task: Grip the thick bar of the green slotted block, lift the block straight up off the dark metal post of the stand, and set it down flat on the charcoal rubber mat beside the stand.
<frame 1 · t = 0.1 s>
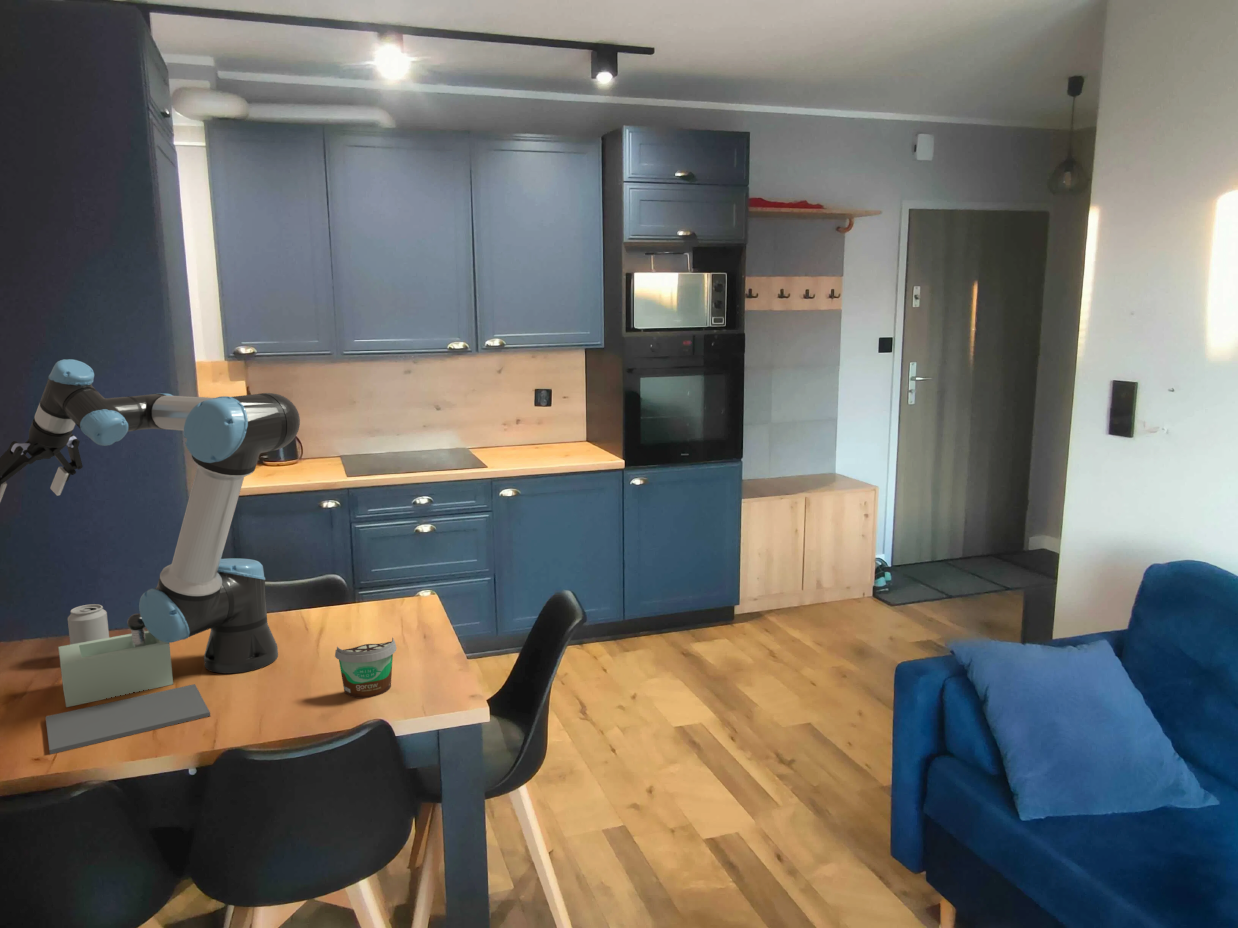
hand: (25, 497, 196), 36 cm above the table, tool tilted 35°, fingers open, 13 cm apart
rubber mat: (128, 718, 167), on the table
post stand: (142, 680, 184), on the table
green slotted block: (118, 686, 182), on the table
food container: (370, 693, 178), on the table
can: (91, 659, 196), on the table
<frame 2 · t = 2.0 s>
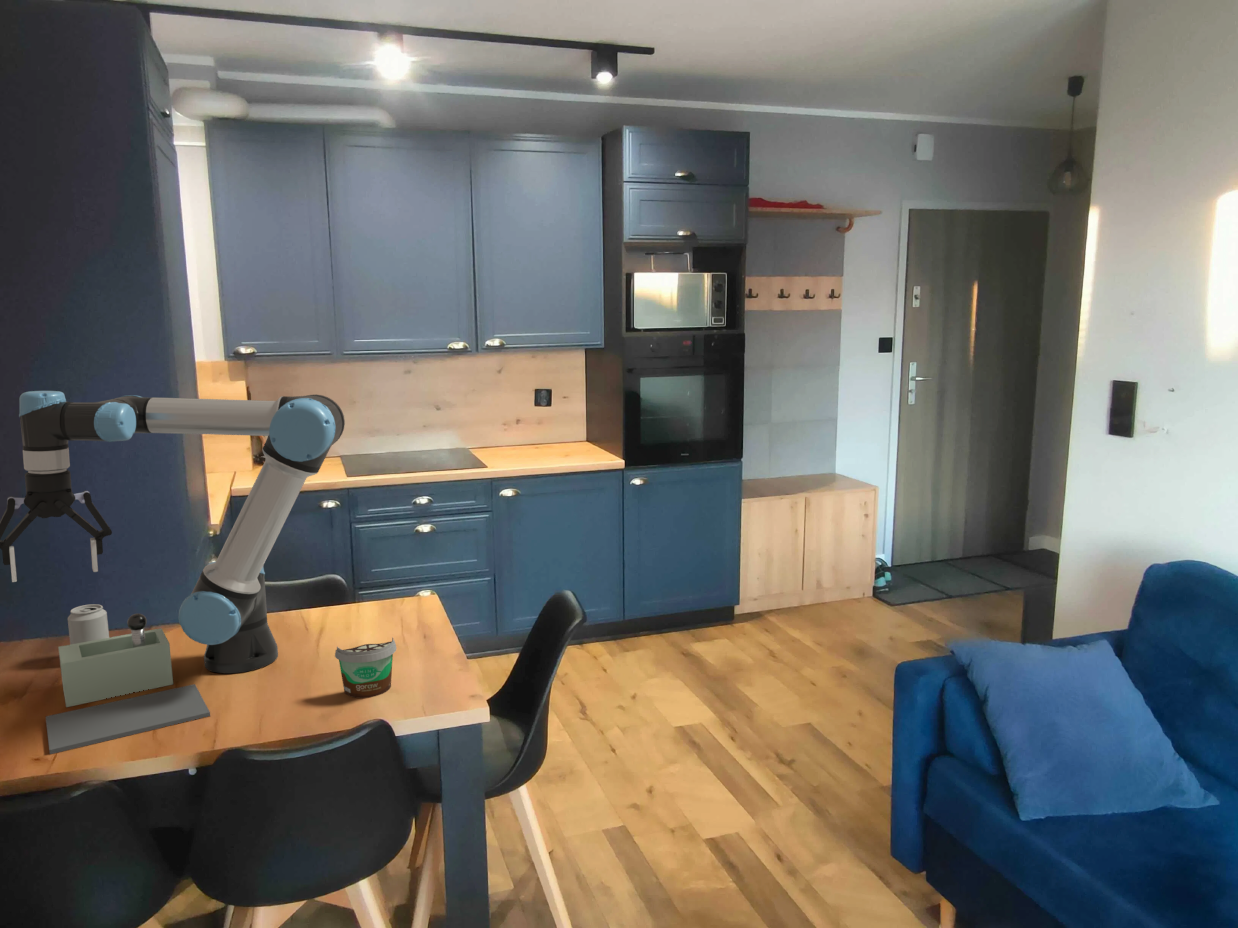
hand: (55, 575, 174), 25 cm above the table, tool pointing down, fingers open, 13 cm apart
nothing on the table moved.
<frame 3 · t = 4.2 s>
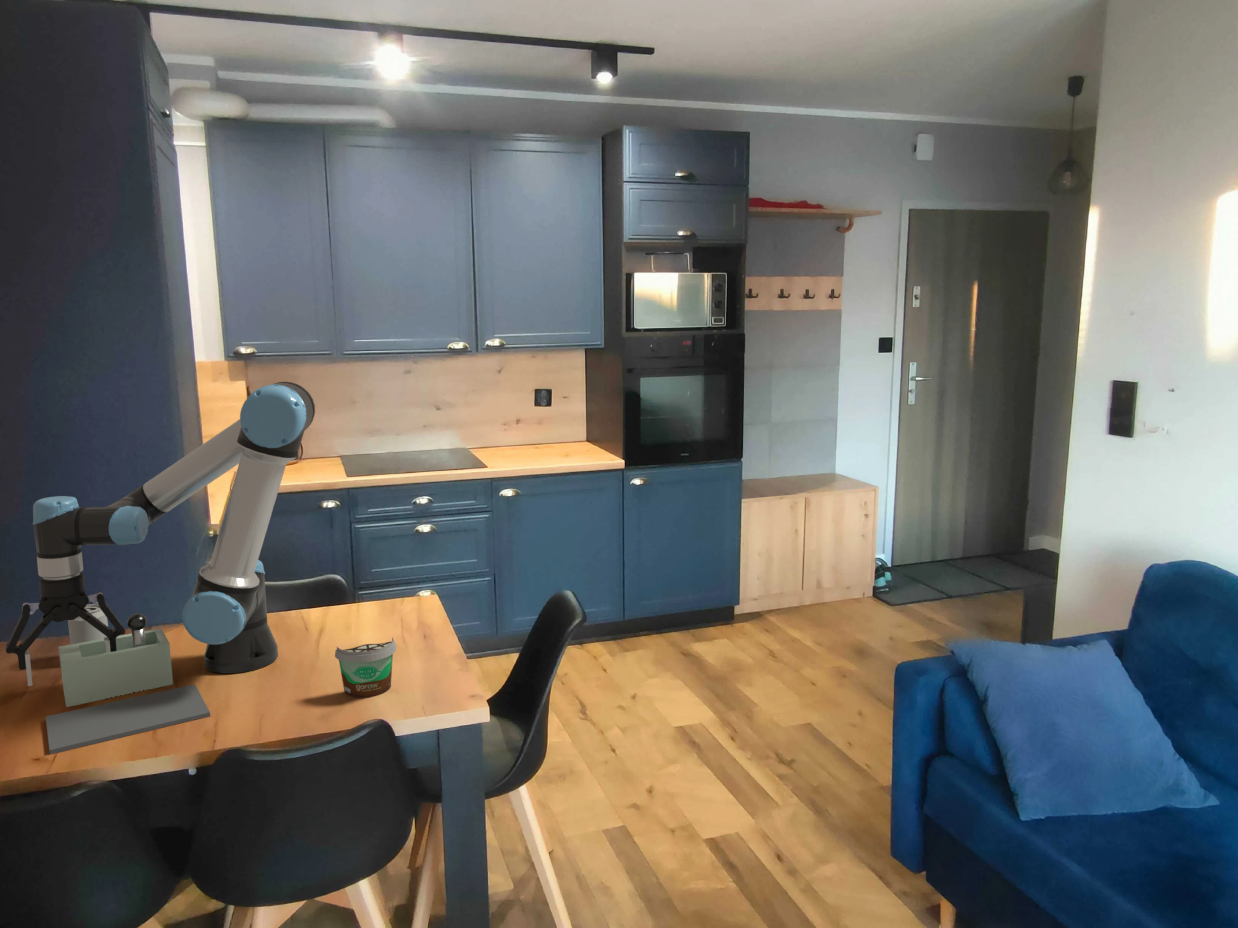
hand: (70, 676, 177), 4 cm above the table, tool pointing down, fingers open, 13 cm apart
nothing on the table moved.
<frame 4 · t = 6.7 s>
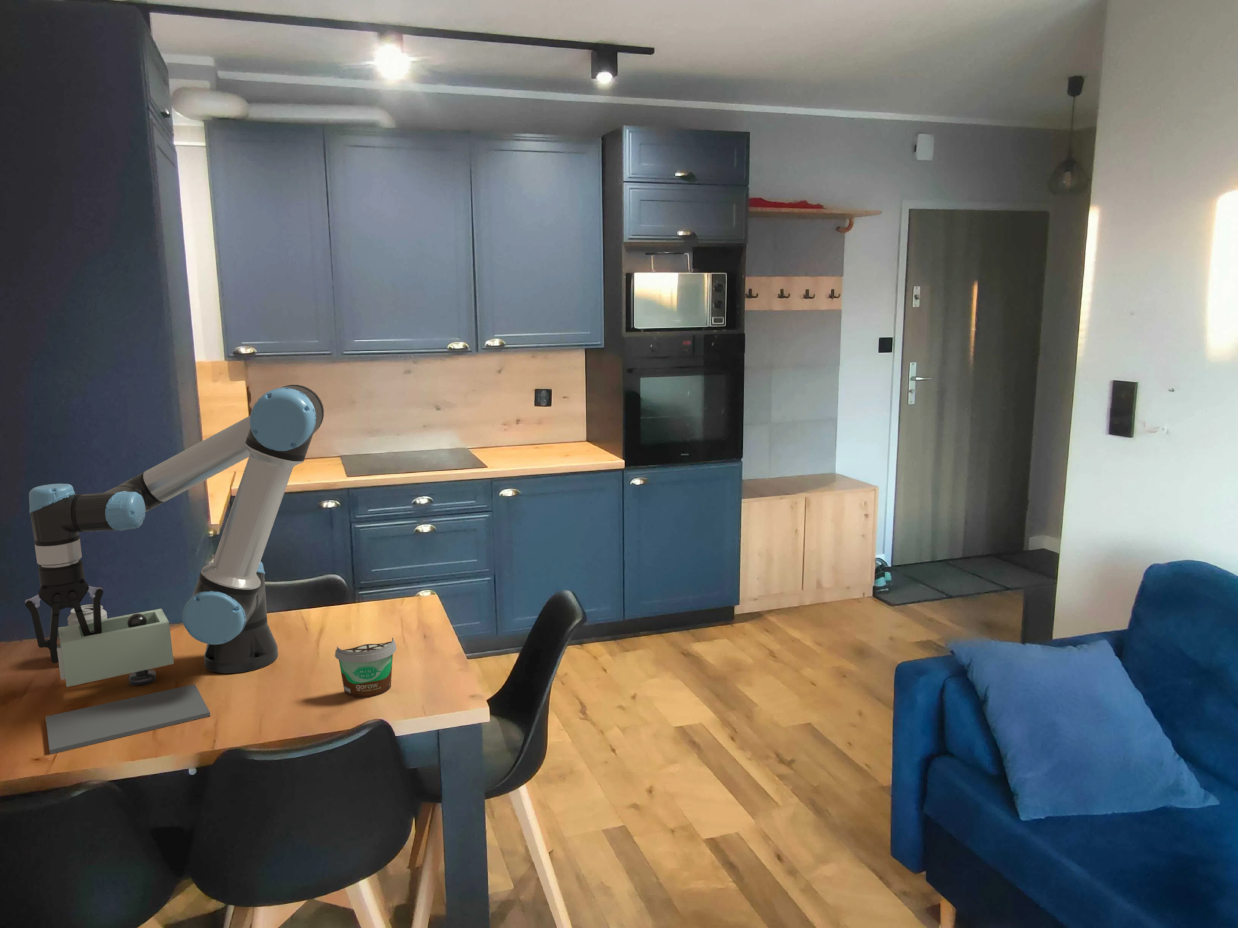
hand: (75, 673, 177), 5 cm above the table, tool pointing down, fingers closed on green slotted block, 3 cm apart
green slotted block: (118, 666, 181), point 4 cm above the table, touching gripper
everything else where it was.
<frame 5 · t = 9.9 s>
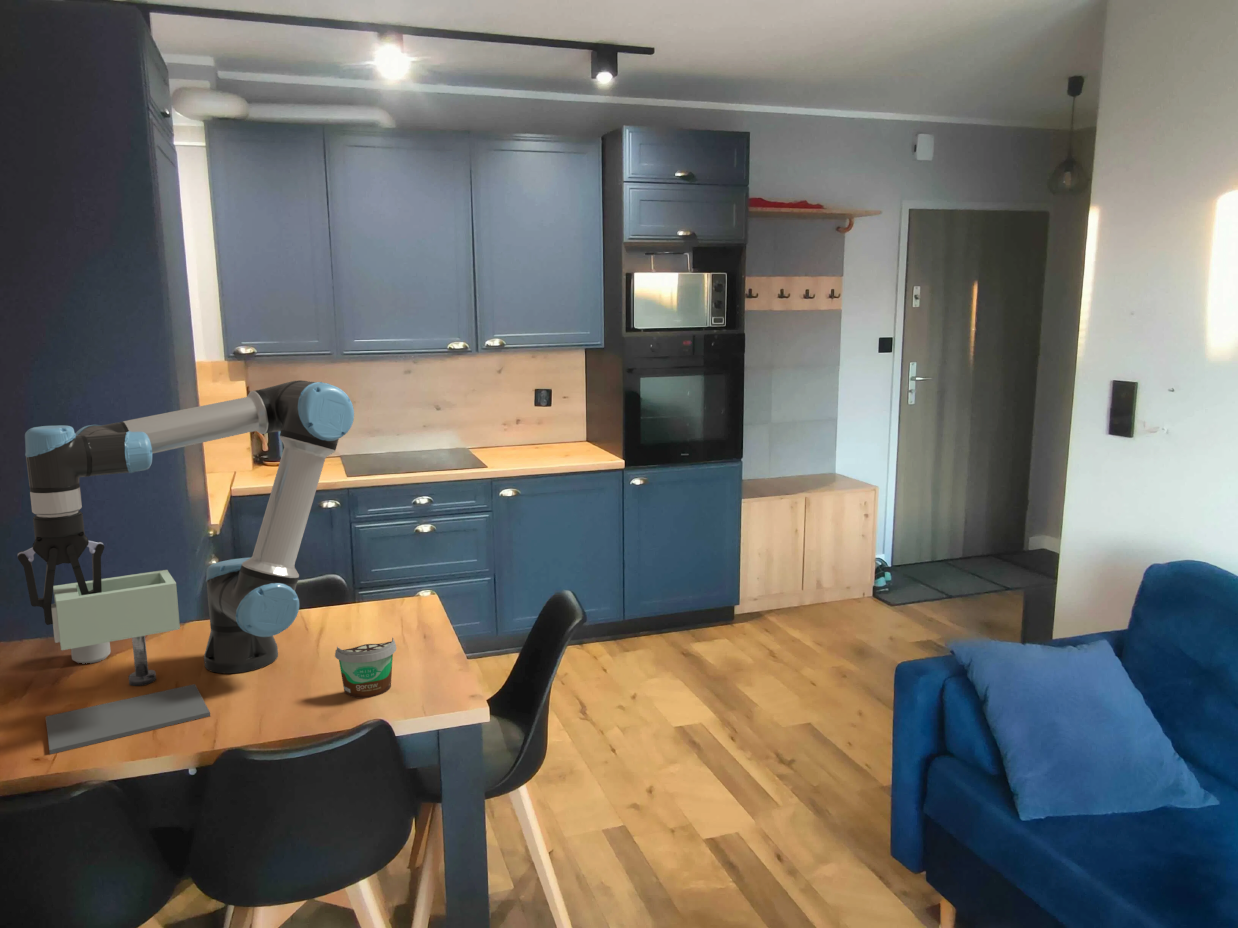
hand: (70, 637, 160), 18 cm above the table, tool pointing down, fingers closed on green slotted block, 3 cm apart
green slotted block: (119, 630, 164), point 18 cm above the table, touching gripper
everything else where it was.
when the fingers open (2 cm above the table, at t = 13.2 s): green slotted block stays where it is, resting on rubber mat.
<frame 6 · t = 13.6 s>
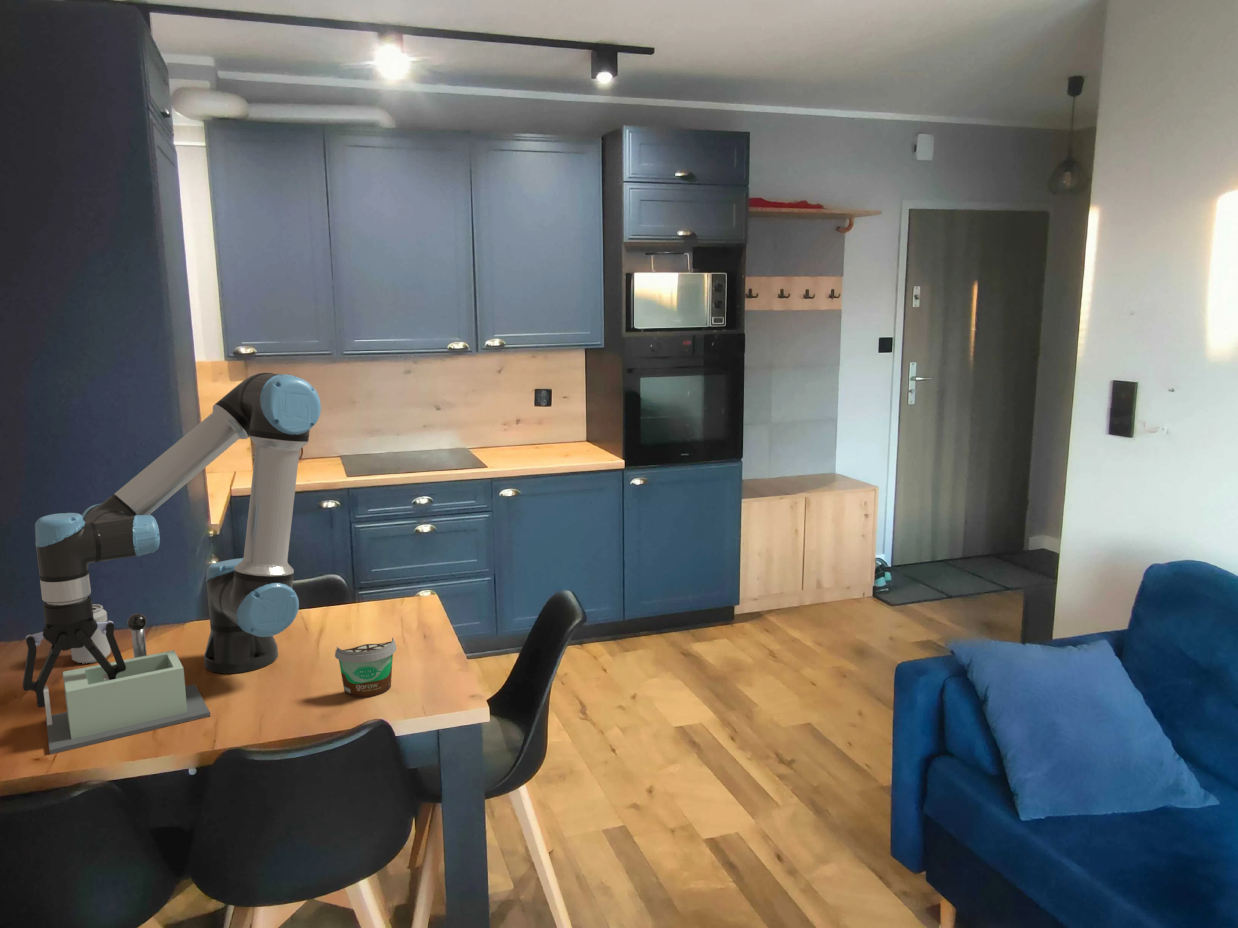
hand: (79, 715, 162), 3 cm above the table, tool pointing down, fingers open, 9 cm apart
green slotted block: (127, 714, 167), point 1 cm above the table, touching rubber mat
everything else where it was.
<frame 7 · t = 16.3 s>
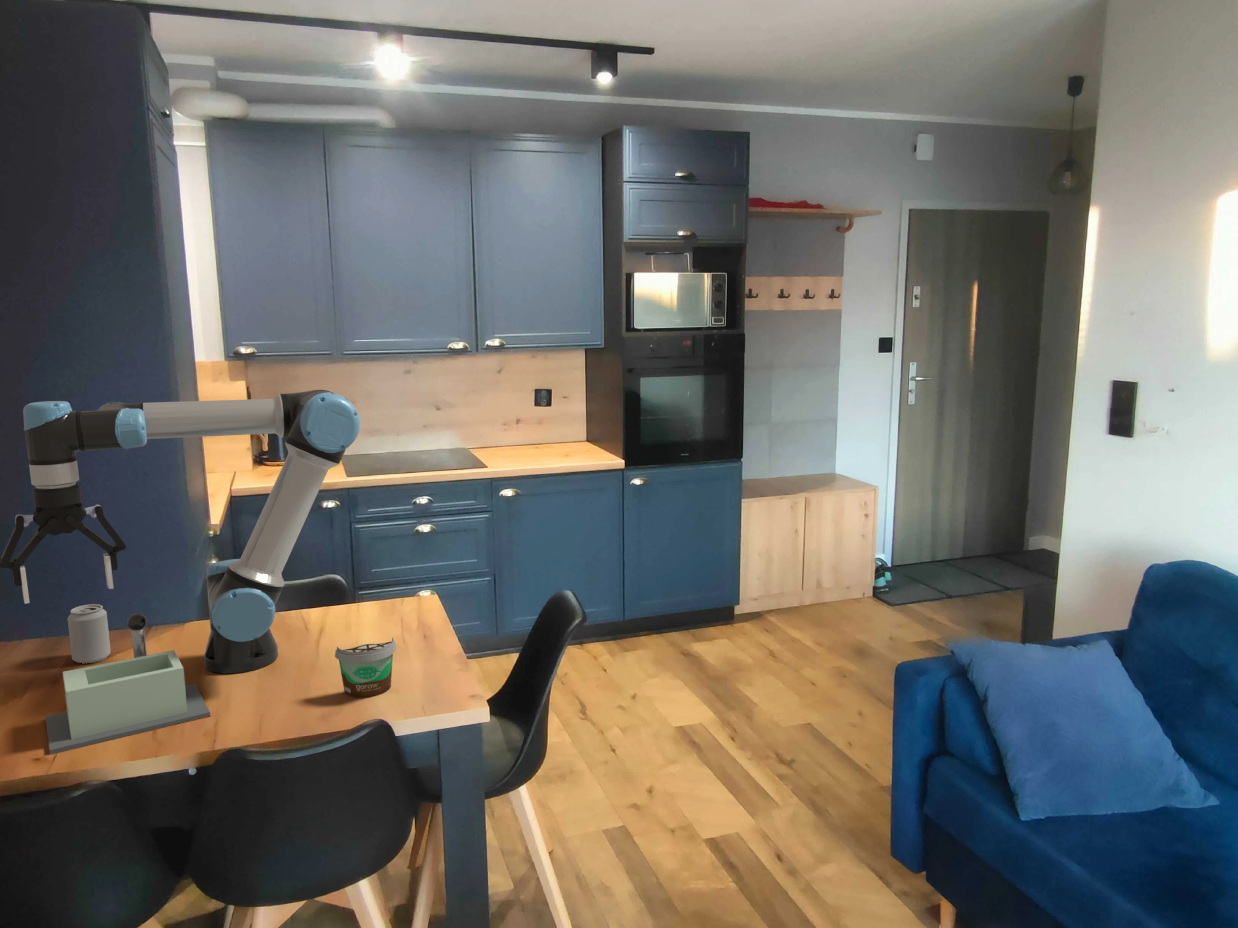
hand: (69, 594, 166), 24 cm above the table, tool pointing down, fingers open, 13 cm apart
nothing on the table moved.
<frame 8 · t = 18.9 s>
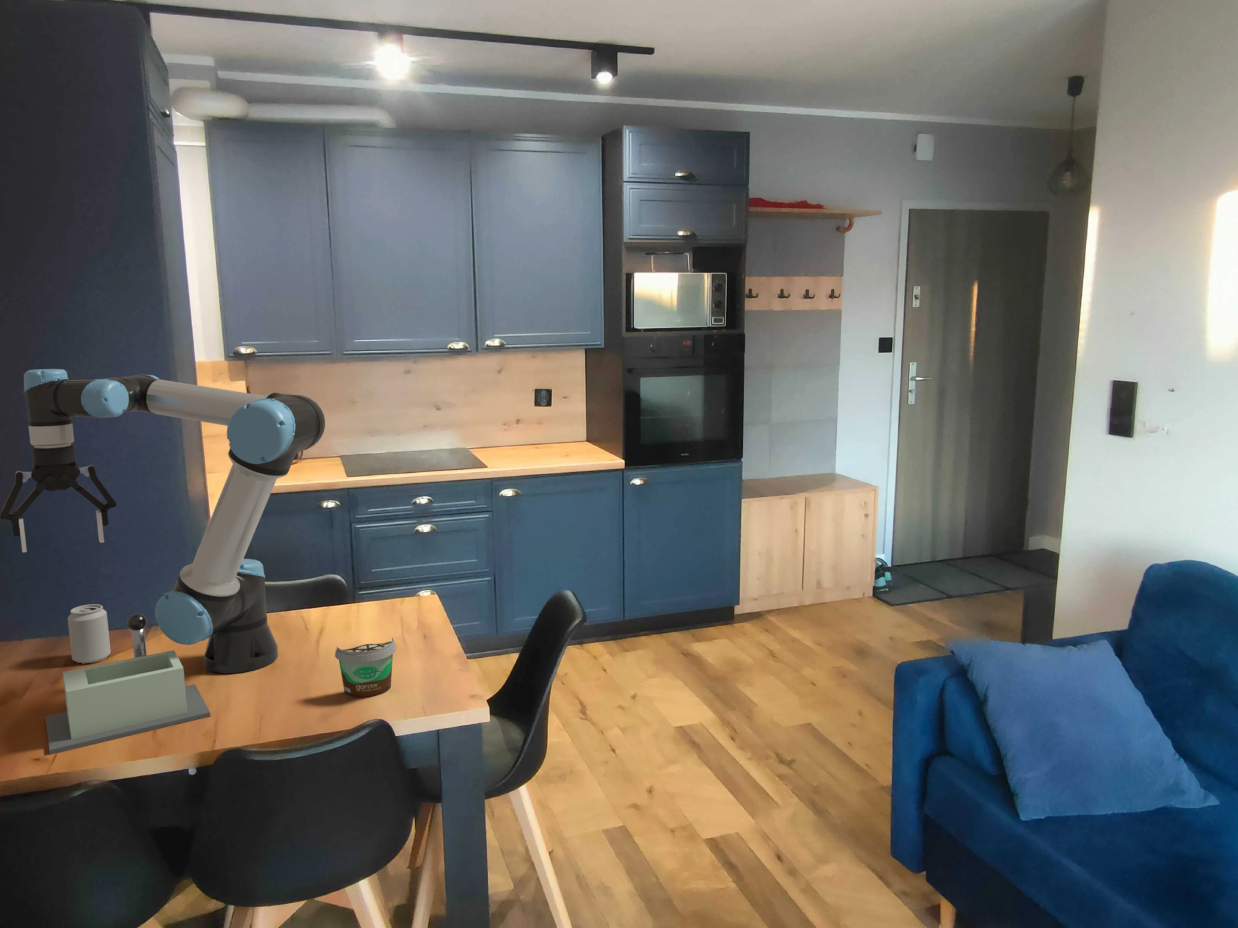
hand: (63, 546, 182), 29 cm above the table, tool pointing down, fingers open, 13 cm apart
nothing on the table moved.
at the end: green slotted block inside the target area on the rubber mat (0.1 cm from its centre), point 0.8 cm above the rubber mat's base; green slotted block tilted 0°; the gripper is holding nothing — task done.
